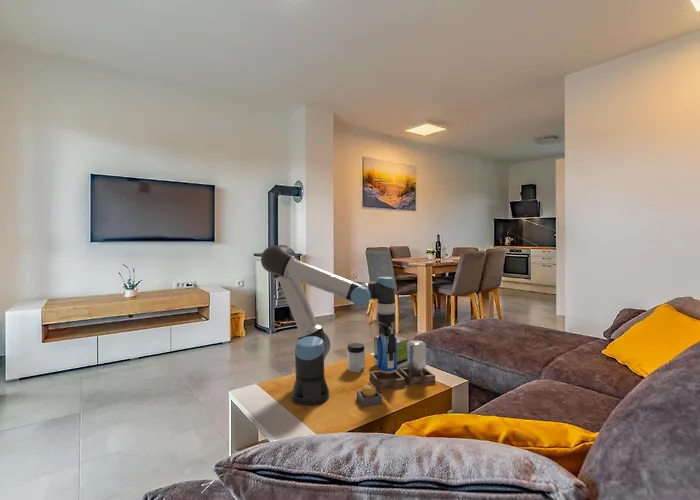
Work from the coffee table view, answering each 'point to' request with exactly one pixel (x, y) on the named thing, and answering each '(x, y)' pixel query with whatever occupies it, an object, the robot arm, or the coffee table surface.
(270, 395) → the coffee table surface
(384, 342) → the beer can
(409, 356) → the billet
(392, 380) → the tray
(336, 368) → the coffee table surface
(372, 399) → the button housing
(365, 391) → the button
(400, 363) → the tea box
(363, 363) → the jar
